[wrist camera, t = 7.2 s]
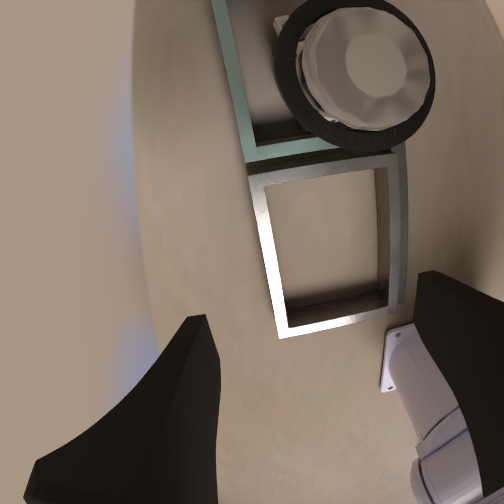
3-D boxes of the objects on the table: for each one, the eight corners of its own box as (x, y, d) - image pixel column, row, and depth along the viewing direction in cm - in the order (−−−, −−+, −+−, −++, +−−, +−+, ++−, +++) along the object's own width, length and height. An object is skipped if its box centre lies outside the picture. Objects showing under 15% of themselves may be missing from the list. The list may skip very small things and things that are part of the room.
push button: (233, 36, 15) (231, -37, 6) (322, 12, 14) (400, -58, 5) (275, 141, 18) (318, 181, 9) (360, 114, 17) (467, 134, 8)
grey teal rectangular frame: (364, -27, 13) (376, -38, 11) (397, 293, 22) (408, 308, 21) (207, -16, 13) (204, -29, 11) (276, 320, 23) (279, 338, 21)
